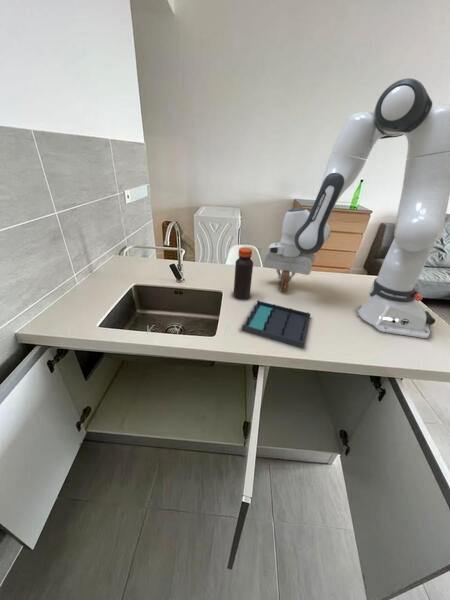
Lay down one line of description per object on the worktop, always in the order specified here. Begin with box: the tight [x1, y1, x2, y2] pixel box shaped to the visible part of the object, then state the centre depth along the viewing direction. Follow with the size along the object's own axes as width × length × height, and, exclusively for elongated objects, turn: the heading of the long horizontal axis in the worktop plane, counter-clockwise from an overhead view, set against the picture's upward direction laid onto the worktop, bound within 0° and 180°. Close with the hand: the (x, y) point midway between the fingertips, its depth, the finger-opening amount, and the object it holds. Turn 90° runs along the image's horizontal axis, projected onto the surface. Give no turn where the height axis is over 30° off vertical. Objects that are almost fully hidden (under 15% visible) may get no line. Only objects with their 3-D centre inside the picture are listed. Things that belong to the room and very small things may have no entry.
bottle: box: [233, 247, 254, 300], centre depth 96 cm, size 7×7×20 cm
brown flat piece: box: [280, 270, 291, 292], centre depth 107 cm, size 15×3×8 cm, turn 168°
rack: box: [241, 299, 311, 349], centre depth 84 cm, size 20×18×4 cm
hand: (284, 279), depth 107 cm, fingers closed on brown flat piece, 3 cm apart
